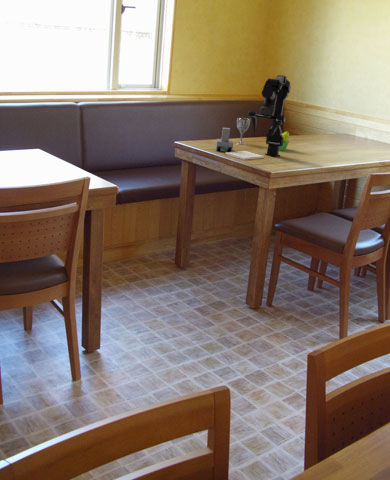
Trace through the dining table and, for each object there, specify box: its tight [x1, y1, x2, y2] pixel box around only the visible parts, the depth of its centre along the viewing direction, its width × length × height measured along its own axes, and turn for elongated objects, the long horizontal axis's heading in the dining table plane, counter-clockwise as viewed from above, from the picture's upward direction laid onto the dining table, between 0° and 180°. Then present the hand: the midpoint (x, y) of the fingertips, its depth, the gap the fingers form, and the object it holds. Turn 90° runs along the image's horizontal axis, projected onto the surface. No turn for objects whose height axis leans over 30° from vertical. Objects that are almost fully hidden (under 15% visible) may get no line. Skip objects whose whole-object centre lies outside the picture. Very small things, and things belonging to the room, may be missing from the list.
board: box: [225, 150, 265, 161], centre depth 334 cm, size 16×14×1 cm
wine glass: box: [234, 117, 251, 146], centre depth 368 cm, size 8×8×15 cm
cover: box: [215, 127, 234, 152], centre depth 341 cm, size 9×9×12 cm
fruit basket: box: [273, 131, 290, 152], centre depth 363 cm, size 11×9×11 cm
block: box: [219, 146, 229, 153], centre depth 343 cm, size 4×4×4 cm
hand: (263, 133), depth 310 cm, fingers open, 9 cm apart
